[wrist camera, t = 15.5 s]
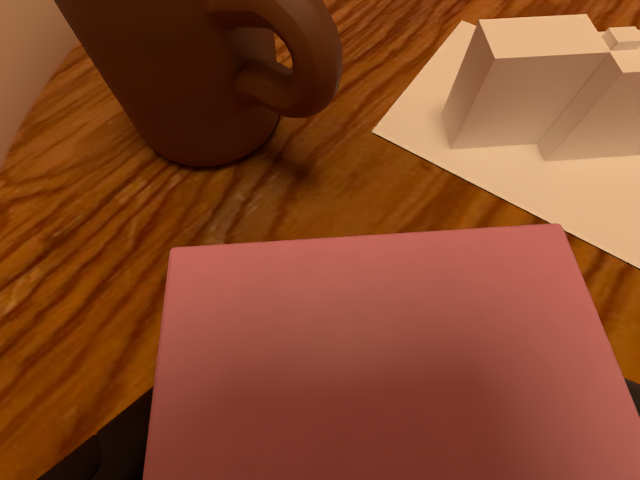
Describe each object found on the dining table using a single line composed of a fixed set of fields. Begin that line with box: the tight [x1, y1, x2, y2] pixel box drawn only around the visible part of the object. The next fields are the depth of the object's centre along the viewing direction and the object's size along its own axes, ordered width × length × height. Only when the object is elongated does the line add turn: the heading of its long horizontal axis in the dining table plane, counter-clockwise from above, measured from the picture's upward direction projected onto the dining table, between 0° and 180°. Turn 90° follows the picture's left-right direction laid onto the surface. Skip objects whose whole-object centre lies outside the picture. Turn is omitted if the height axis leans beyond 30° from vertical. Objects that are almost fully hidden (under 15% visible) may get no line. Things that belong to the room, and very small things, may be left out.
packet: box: [143, 223, 640, 480], centre depth 9 cm, size 4×6×10 cm
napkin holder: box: [372, 14, 640, 269], centre depth 17 cm, size 15×11×6 cm
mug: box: [54, 0, 343, 167], centre depth 15 cm, size 12×8×9 cm, turn 51°
